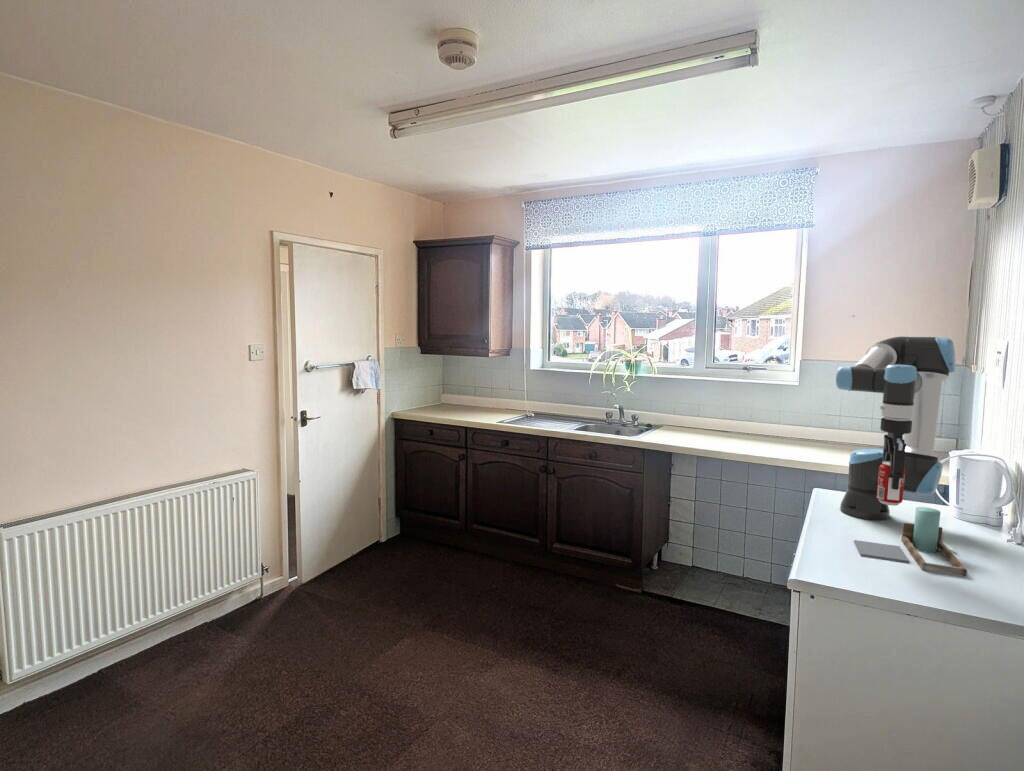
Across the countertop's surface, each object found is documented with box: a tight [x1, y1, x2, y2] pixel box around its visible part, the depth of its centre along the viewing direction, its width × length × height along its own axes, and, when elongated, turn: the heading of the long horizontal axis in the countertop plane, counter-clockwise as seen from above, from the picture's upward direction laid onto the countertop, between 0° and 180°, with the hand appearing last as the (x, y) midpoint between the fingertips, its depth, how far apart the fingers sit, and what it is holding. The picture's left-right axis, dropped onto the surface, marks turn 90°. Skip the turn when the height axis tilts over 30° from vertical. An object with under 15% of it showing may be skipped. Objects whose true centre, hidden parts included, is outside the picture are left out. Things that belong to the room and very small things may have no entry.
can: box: [912, 506, 941, 553], centre depth 174 cm, size 6×6×12 cm
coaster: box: [853, 539, 910, 564], centre depth 171 cm, size 12×12×1 cm
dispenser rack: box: [901, 522, 968, 577], centre depth 167 cm, size 24×10×6 cm, turn 157°
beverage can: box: [877, 461, 905, 506], centre depth 168 cm, size 6×6×12 cm
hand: (889, 495), depth 169 cm, fingers closed on beverage can, 6 cm apart
